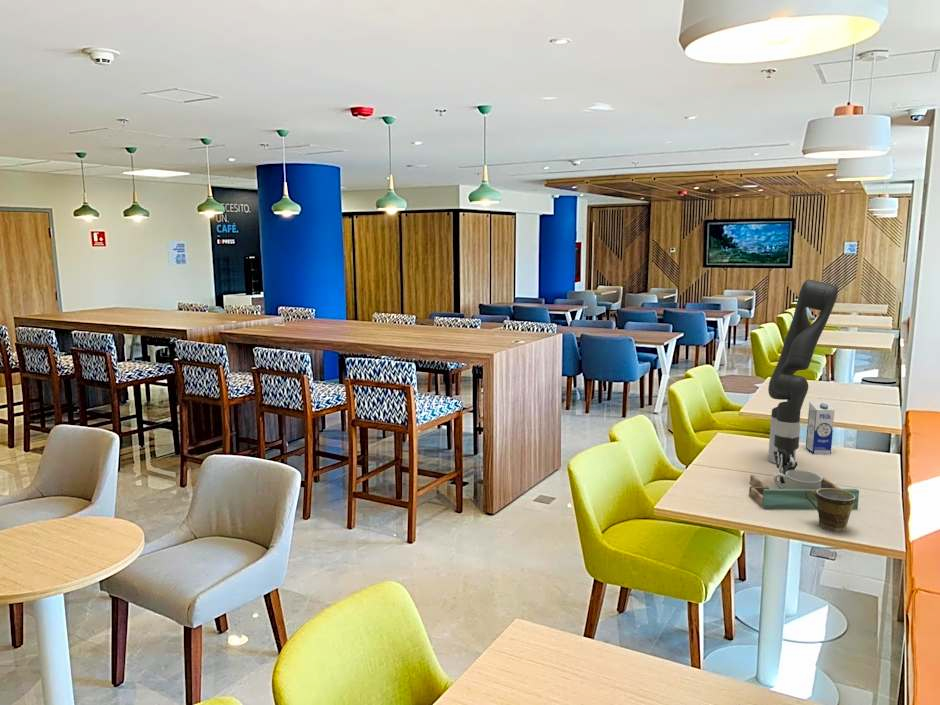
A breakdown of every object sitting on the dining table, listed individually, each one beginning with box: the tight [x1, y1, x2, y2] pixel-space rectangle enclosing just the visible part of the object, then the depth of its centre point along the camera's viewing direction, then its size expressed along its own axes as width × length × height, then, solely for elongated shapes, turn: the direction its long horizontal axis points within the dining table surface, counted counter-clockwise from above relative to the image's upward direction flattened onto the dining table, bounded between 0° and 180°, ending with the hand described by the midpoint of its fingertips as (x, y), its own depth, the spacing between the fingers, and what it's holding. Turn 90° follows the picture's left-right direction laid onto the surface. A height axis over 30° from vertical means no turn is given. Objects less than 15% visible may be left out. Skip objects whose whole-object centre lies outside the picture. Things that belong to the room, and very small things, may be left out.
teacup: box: [773, 469, 823, 489], centre depth 221 cm, size 14×11×8 cm
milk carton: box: [805, 401, 835, 455], centre depth 269 cm, size 7×7×20 cm
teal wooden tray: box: [748, 474, 860, 510], centre depth 223 cm, size 23×29×6 cm
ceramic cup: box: [805, 488, 855, 532], centre depth 199 cm, size 13×10×10 cm
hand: (783, 483), depth 230 cm, fingers closed
